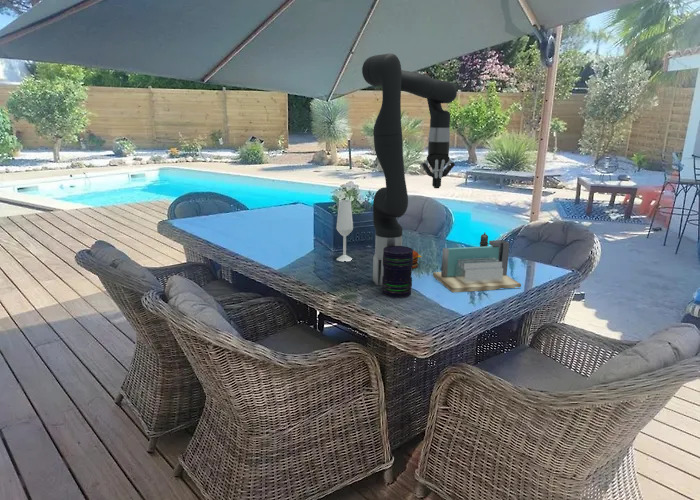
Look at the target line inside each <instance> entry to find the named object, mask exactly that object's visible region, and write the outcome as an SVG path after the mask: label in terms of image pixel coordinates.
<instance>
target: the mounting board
mask: <svg viewBox="0 0 700 500" xmlns="http://www.w3.org/2000/svg"><path fill="white" fill-rule="evenodd" d="M432 277H433V278H434V279H436V280H437V281H438V282H439V283H441V284H442V286H444V287H445V288H447V289H448V290H449V291H450V292H451V293H466V292H467V293H468V292H477V291H478V292H482V291H484V292H485V291H497V290H496V289H500V288H515V287H521V286H522V283H520V282H518V281H517V280H516V279H514V278H512V277H510V276H509V275H503V278H502V282H497V283H481V284H463V283H462V282H460V281H459V280H458V279H456V278H455V276H448V277H442V276H441V271H435V272H434V271H433V273H432ZM521 288H522V287H521ZM515 289H516V288H515ZM500 290H501V289H500Z"/></svg>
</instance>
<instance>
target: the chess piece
mask: <svg viewBox="0 0 700 500" xmlns="http://www.w3.org/2000/svg"><path fill="white" fill-rule="evenodd" d="M488 245H490V244H489V235H487V233H486V232H484V233H483V234H481V235H480V242H479V247H485V246H488Z"/></svg>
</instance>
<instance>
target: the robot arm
mask: <svg viewBox="0 0 700 500" xmlns="http://www.w3.org/2000/svg"><path fill="white" fill-rule="evenodd" d="M361 74H362V77H363V79H364V81H365V83H367V84H369V86H372V87H381V88H382V91H381V93H382V103H381V106H380V109H379V112H378V115H377V117H376V120H375V121H374V125H373V128H372V129H373V130H372V131H373V135H372V136H373V147H374V153H375V155H376V157H377V160H378V162H379V164H380V167H381V169H382V172H383V175H384V179H385V187H380V188H379V189H378V190H377V191H376V192H375V194H374V196H373V200H372V202H373V203H372V215H373V216H372V221H373V227H374V230H375V242H374V243H375V244H374V245H375V247H374V250H375V251H374V254H373V258H372V259H373V260H372V281H373V282H374V284H375V285H376V286H379V287H380V286H381V287H382V277H383V270H384V266H383V253H384V252H383V249H384V248H385V247H388V246H403V232H404V231H403V227H402V225H401V224H400V223H399V221H398V219H397V218H401V217H403V216H404V215H405V213H406V212H407V209H408V206H409V196H408V188H407V184H406V183H407V181H406V176H405V166H404V165H405V164H404V151H403V149H404V147H403V146H404V145H403V130H402V129H403V128H402V113H401V112H402V110H401V109H402V108H401V100H402V99H401V97H402V96H401V94H402V92H406V93H409V94H412V95H414V96H417V97H419V98H423V99H426V100H427V106H428V111H429V115H430V121H429V131H428V138H427V140H428V148H427V156H426V160H425V161H424V162H423V161H422V162H421V163H420V166H421V167H422V169H423V170H424V172H425V173H426V174H427V176H429V177H431V178H432V182H431V185H432V187H433V188H434V189H440V188H441V186H442V178H445V177H447V176H448V174H449V173H450V172H451V170H452V169H453V168H454V167H455V165H456V164H455V162H452V160H451V159H450V156H449V155H450V139H451V133H450V131H451V129H450V126H451V113H450V112H449V111H448V110H445V109H443V107H442V104H450V103H452V102H454V101H455V100H456V98H457V96H458V91H457V90H458V89H457V87H456V86H455V84H453V83H452V82H450V81H446V80H441V79H437V78H436V79H435V78H432V77H430V76H429V75H425V74H422V73H419V72H417V71H408V70H403V69H402V65H401V61H400V59H399V57H398V56H397V55H396V54H394V53H383V54H382V53H381V54H377V55H376V54H375V55H372V56H369V57H368V58H366V59H365V60H364V61H363V64H362V68H361ZM429 166H430V168H431V169H430V168H429Z"/></svg>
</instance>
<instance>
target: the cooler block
mask: <svg viewBox="0 0 700 500" xmlns="http://www.w3.org/2000/svg"><path fill="white" fill-rule="evenodd" d="M488 243H489V244H488V245H489V246H494V247H495V246H498V247H499V258H498V259H495V258H494V257H492V258H473V259H457V264H456V269H455V278H456V279H458V280H459V281H460V282H462V283H463V284H481V283H497V282H502V278H503V275H507V274H508V263H509V251H510V242H508V241H506V240H504V239H501V240H500V239H498V240H496V239H495V240H488ZM507 276H508V275H507Z"/></svg>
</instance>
